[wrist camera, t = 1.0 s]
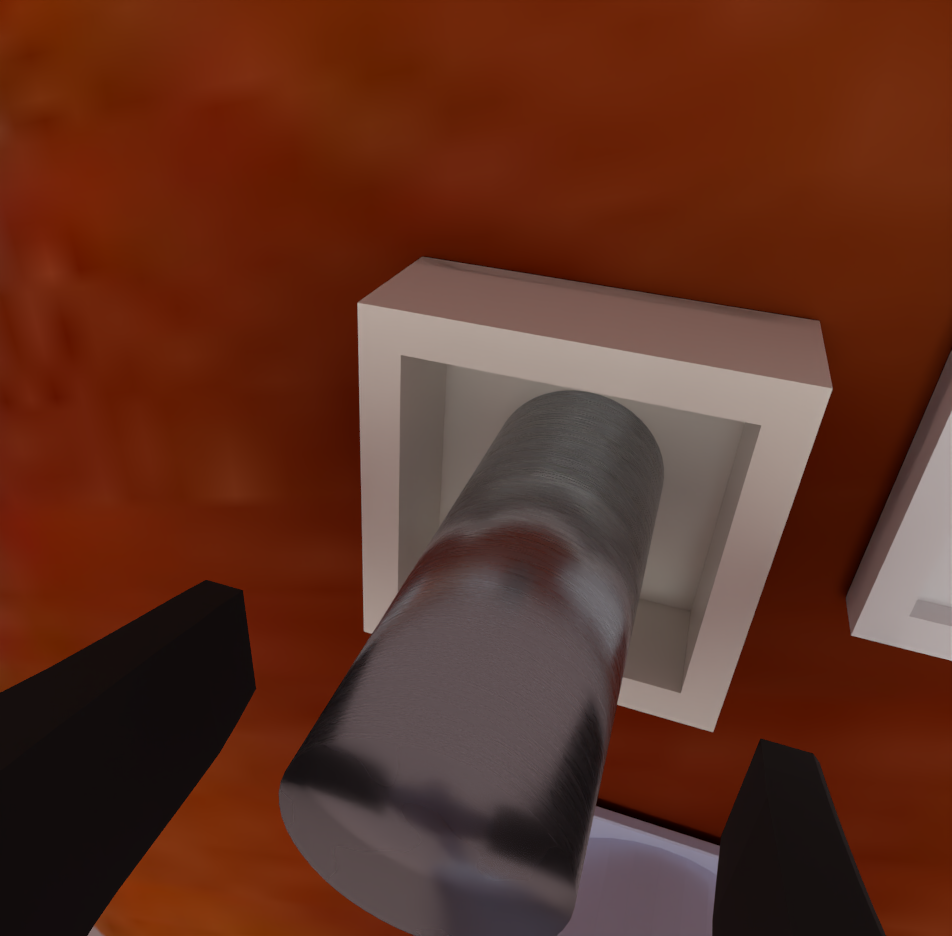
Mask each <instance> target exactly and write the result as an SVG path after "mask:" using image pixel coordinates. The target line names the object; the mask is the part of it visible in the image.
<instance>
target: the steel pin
mask: <svg viewBox="0 0 952 936" xmlns="http://www.w3.org/2000/svg"><path fill="white" fill-rule="evenodd" d="M663 481H664V465H663V459H662V455H661V452H660V449H659V446H658V444H657V442H656V440H655V438H654V436H653V435H652V433H651V432H650V430H649V429H648V427H647V426H646V425H645V424H644V423H643V422H642V420H641V419H640V418H638V417H637V416H636V415H635V414H634V413H633V412H632V411H630V410H629V409H627V408H626V407H624V406H623V405H621V404H619V403H618V402H616V401H614V400H612V399H609V398H607V397H604V396H602V395H598V394H594V393H591V392H585V391H576V390H565V391H556V392H551V393H547V394H543V395H540V396H538V397H535V398H533V399H531V400H529V401H528V402H526V403H524V404H523V405H522V406H520V407H519V408H518V409H516V410H515V411H514V413H513V414H512V415H511V416H510V417H509V418H508V419H507V421H506V422H505V424H504V425H503V427H502V428H501V430H500V432H499V433H498V435H497V436H496V438H495V439H494V441H493V443H492V444H491V446H490V447H489V449H488V451H487V452H486V454H485V455H484V457H483V459H482V460H481V462H480V463H479V465H478V466H477V468H476V470H475V471H474V473H473V474H472V476H471V478H470V479H469V481H468V482H467V484H466V485H465V487H464V489H463V490H462V492H461V493H460V495H459V497H458V498H457V500H456V501H455V503H454V505H453V506H452V508H451V509H450V511H449V512H448V514H447V516H446V517H445V519H444V520H443V522H442V524H441V525H440V527H439V528H438V530H437V532H436V533H435V535H434V536H433V538H432V539H431V541H430V543H429V544H428V546H427V547H426V549H425V551H424V552H423V554H422V555H421V557H420V558H419V560H418V562H417V563H416V565H415V566H414V568H413V570H412V571H411V573H410V574H409V576H408V578H407V579H406V581H405V582H404V584H403V585H402V587H401V589H400V590H399V592H398V593H397V595H396V597H395V598H394V600H393V601H392V603H391V604H390V606H389V608H388V609H387V611H386V612H385V614H384V616H383V617H382V619H381V620H380V622H379V624H378V625H377V627H376V628H375V630H374V631H373V633H372V635H371V636H370V638H369V639H368V641H367V643H366V644H365V646H364V647H363V649H362V651H361V652H360V654H359V655H358V657H357V658H356V660H355V662H354V663H353V665H352V666H351V668H350V670H349V671H348V673H347V674H346V676H345V677H344V679H343V681H342V682H341V684H340V685H339V687H338V689H337V690H336V692H335V693H334V695H333V697H332V698H331V700H330V701H329V703H328V704H327V706H326V708H325V709H324V711H323V712H322V714H321V716H320V717H319V719H318V720H317V722H316V723H315V725H314V727H313V728H312V730H311V731H310V733H309V735H308V736H307V738H306V739H305V741H304V743H303V744H302V746H301V747H300V749H299V750H298V752H297V754H296V755H295V757H294V758H293V760H292V762H291V763H290V765H289V766H288V768H287V770H286V771H285V773H284V776H283V778H282V780H281V784H280V789H279V805H280V810H281V815H282V818H283V821H284V824H285V826H286V829H287V831H288V833H289V835H290V837H291V838H292V840H293V842H294V844H295V845H296V847H297V848H298V850H299V851H300V852H301V854H302V855H303V856H304V858H305V859H306V860H307V861H308V862H309V864H310V865H311V866H312V867H313V868H314V869H315V870H316V871H317V872H318V873H319V874H320V875H321V876H322V878H323V879H325V880H326V881H327V882H328V883H329V884H330V885H331V886H333V887H334V888H335V889H336V890H337V891H338V892H340V893H341V894H342V895H344V896H345V897H346V898H348V899H349V900H350V901H352V902H353V903H355V904H356V905H358V906H359V907H361V908H362V909H364V910H365V911H367V912H368V913H370V914H372V915H374V916H375V917H377V918H379V919H380V920H382V921H384V922H386V923H388V924H390V925H392V926H394V927H396V928H398V929H401V930H403V931H405V932H408V933H410V934H412V935H415V936H557V935H558V934H559V933H560V932H561V931H562V930H563V929H564V928H565V927H566V925H567V924H568V922H569V921H570V919H571V916H572V914H573V911H574V908H575V903H576V898H577V893H578V888H579V884H580V879H581V874H582V869H583V865H584V860H585V855H586V850H587V846H588V841H589V836H590V831H591V826H592V822H593V817H594V812H595V807H596V803H597V798H598V793H599V788H600V783H601V779H602V774H603V769H604V764H605V760H606V755H607V750H608V745H609V741H610V736H611V731H612V726H613V721H614V717H615V712H616V707H617V702H618V698H619V693H620V688H621V683H622V679H623V674H624V669H625V664H626V659H627V655H628V650H629V645H630V640H631V636H632V631H633V626H634V621H635V617H636V612H637V607H638V602H639V597H640V593H641V588H642V583H643V578H644V574H645V569H646V564H647V559H648V555H649V550H650V545H651V540H652V535H653V531H654V526H655V521H656V516H657V512H658V507H659V502H660V497H661V493H662V488H663Z"/></svg>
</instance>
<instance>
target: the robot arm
mask: <svg viewBox="0 0 952 936" xmlns="http://www.w3.org/2000/svg"><path fill="white" fill-rule="evenodd" d="M255 689H256V686H255V678H254V671H253V663H252V656H251V648H250V641H249V634H248V626H247V619H246V611H245V604H244V596H243V590H240V589H236V588H233V587H229V586H226V585H222V584H219V583H215V582H212V581H208V580H205V581H203V582H201V583H200V584H198V585H196V586H194V587H192V588H190V589H188V590H187V591H185V592H183V593H181V594H179V595H178V596H176V597H174V598H172V599H170V600H169V601H167V602H165V603H163V604H162V605H160V606H158V607H156V608H155V609H153V610H151V611H149V612H148V613H146V614H144V615H142V616H141V617H139V618H137V619H135V620H134V621H132V622H130V623H128V624H127V625H125V626H123V627H121V628H120V629H118V630H116V631H114V632H113V633H111V634H109V635H107V636H106V637H104V638H102V639H100V640H98V641H97V642H95V643H93V644H91V645H89V646H88V647H86V648H84V649H82V650H80V651H79V652H77V653H75V654H73V655H71V656H70V657H68V658H66V659H64V660H62V661H61V662H59V663H57V664H55V665H53V666H52V667H50V668H48V669H46V670H44V671H42V672H40V673H38V674H36V675H34V676H32V677H30V678H28V679H26V680H24V681H22V682H20V683H18V684H17V685H15V686H13V687H11V688H9V689H7V690H5V691H3V692H1V693H0V936H87V935H88V934H89V932H90V931H91V929H92V927H93V926H94V924H95V923H96V921H97V920H98V918H99V917H100V916H101V914H102V913H103V911H104V910H105V908H106V907H107V905H108V904H109V903H110V901H111V900H112V898H113V897H114V895H115V894H116V892H117V891H118V890H119V888H120V887H121V886H122V884H123V883H124V882H125V880H126V879H127V878H128V876H129V875H130V874H131V872H132V871H133V869H134V868H135V867H136V865H137V864H138V863H139V861H140V860H141V859H142V857H143V856H144V855H145V853H146V852H147V851H148V849H149V848H150V847H151V845H152V844H153V843H154V841H155V840H156V839H157V837H158V836H159V835H160V833H161V832H162V831H163V829H164V828H165V826H166V825H167V824H168V822H169V821H170V820H171V818H172V817H173V816H174V814H175V813H176V812H177V810H178V809H179V808H180V806H181V805H182V804H183V802H184V801H185V800H186V798H187V797H188V796H189V794H190V793H191V791H192V790H193V789H194V787H195V786H196V785H197V783H198V782H199V780H200V779H201V778H202V776H203V775H204V774H205V772H206V771H207V770H208V768H209V767H210V765H211V764H212V763H213V761H214V760H215V758H216V757H217V756H218V754H219V753H220V751H221V750H222V748H223V746H224V744H225V743H226V741H227V739H228V738H229V736H230V734H231V733H232V731H233V729H234V727H235V726H236V724H237V722H238V720H239V719H240V717H241V715H242V713H243V711H244V710H245V708H246V706H247V704H248V702H249V700H250V699H251V697H252V695H253V693H254V691H255ZM557 936H886V935H885V933H884V930H883V928H882V926H881V924H880V921H879V919H878V917H877V914H876V912H875V910H874V908H873V905H872V903H871V900H870V898H869V895H868V893H867V891H866V888H865V886H864V883H863V881H862V878H861V876H860V873H859V871H858V868H857V866H856V863H855V861H854V858H853V855H852V853H851V850H850V848H849V845H848V843H847V840H846V837H845V835H844V832H843V829H842V827H841V824H840V821H839V818H838V816H837V813H836V810H835V807H834V804H833V802H832V799H831V796H830V793H829V790H828V787H827V784H826V781H825V778H824V775H823V772H822V769H821V766H820V763H819V761H818V760H817V758H816V757H815V756H814V754H813V753H809V752H806V751H802V750H799V749H795V748H792V747H788V746H785V745H781V744H778V743H774V742H771V741H767V740H764V739H760V741H759V744H758V746H757V749H756V751H755V754H754V756H753V759H752V761H751V764H750V766H749V769H748V771H747V773H746V776H745V778H744V781H743V783H742V786H741V788H740V791H739V793H738V796H737V798H736V801H735V803H734V806H733V808H732V811H731V813H730V816H729V818H728V821H727V823H726V826H725V828H724V831H723V833H722V835H721V841H720V846H719V845H716V844H713V843H710V842H707V841H703V840H700V839H697V838H694V837H691V836H688V835H685V834H682V833H679V832H676V831H672V830H669V829H666V828H663V827H660V826H657V825H654V824H651V823H648V822H645V821H641V820H638V819H635V818H632V817H629V816H626V815H623V814H620V813H617V812H614V811H610V810H607V809H604V808H601V807H598V806H596V807H595V812H594V817H593V822H592V826H591V831H590V836H589V841H588V846H587V850H586V855H585V860H584V865H583V869H582V874H581V879H580V884H579V888H578V893H577V898H576V903H575V908H574V911H573V914H572V916H571V919H570V921H569V922H568V924H567V925H566V927H565V928H564V929H563V930H562V931H561V932H560V933H559V934H558V935H557Z"/></svg>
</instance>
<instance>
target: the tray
mask: <svg viewBox="0 0 952 936" xmlns="http://www.w3.org/2000/svg"><path fill="white" fill-rule="evenodd" d="M846 604H847V611H848V618H849V625H850V631H851V636H855V637H859V638H863V639H867V640H871V641H875V642H879V643H883V644H887V645H891V646H895V647H899V648H903V649H907V650H911V651H915V652H919V653H923V654H927V655H931V656H935V657H939V658H943V659H947V660H951V661H952V350H951V352H950V355H949V357H948V359H947V362H946V364H945V366H944V369H943V371H942V373H941V376H940V378H939V380H938V383H937V385H936V387H935V390H934V392H933V394H932V397H931V399H930V401H929V404H928V406H927V408H926V411H925V413H924V415H923V418H922V420H921V422H920V425H919V427H918V429H917V432H916V434H915V437H914V439H913V441H912V444H911V446H910V448H909V451H908V453H907V455H906V458H905V460H904V462H903V465H902V467H901V469H900V472H899V474H898V476H897V479H896V481H895V483H894V486H893V488H892V490H891V493H890V495H889V497H888V500H887V502H886V504H885V507H884V509H883V511H882V514H881V516H880V518H879V521H878V523H877V525H876V528H875V530H874V532H873V535H872V537H871V539H870V542H869V544H868V547H867V549H866V551H865V554H864V556H863V558H862V561H861V563H860V565H859V568H858V570H857V572H856V575H855V577H854V579H853V582H852V584H851V586H850V589H849V591H848V593H847V596H846Z"/></svg>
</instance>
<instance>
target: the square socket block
mask: <svg viewBox="0 0 952 936" xmlns="http://www.w3.org/2000/svg"><path fill="white" fill-rule="evenodd" d="M357 305H358V355H359V406H360V457H361V508H362V559H363V610H364V632H368V633H371V634H372V633H373V631H374V630H375V628H376V627H377V625H378V624H379V622H380V620H381V619H382V617H383V616H384V614H385V612H386V611H387V609H388V608H389V606H390V604H391V603H392V601H393V600H394V598H395V597H396V595H397V593H398V592H399V590H400V589H401V587H402V585H403V584H404V582H405V581H406V579H407V578H408V576H409V574H410V573H411V571H412V570H413V568H414V566H415V565H416V563H417V562H418V560H419V558H420V557H421V555H422V554H423V552H424V551H425V549H426V547H427V546H428V544H429V543H430V541H431V539H432V538H433V536H434V535H435V533H436V532H437V530H438V528H439V527H440V525H441V524H442V522H443V520H444V519H445V517H446V516H447V514H448V512H449V511H450V509H451V508H452V506H453V505H454V503H455V501H456V500H457V498H458V497H459V495H460V493H461V492H462V490H463V489H464V487H465V485H466V484H467V482H468V481H469V479H470V478H471V476H472V474H473V473H474V471H475V470H476V468H477V466H478V465H479V463H480V462H481V460H482V459H483V457H484V455H485V454H486V452H487V451H488V449H489V447H490V446H491V444H492V443H493V441H494V439H495V438H496V436H497V435H498V433H499V432H500V430H501V428H502V427H503V425H504V424H505V422H506V421H507V419H508V418H509V417H510V416H511V415H512V414H513V413H514V411H515V410H516V409H518V408H519V407H520V406H522V405H523V404H524V403H526V402H528V401H529V400H531V399H533V398H535V397H538V396H540V395H543V394H547V393H551V392H556V391H565V390H576V391H585V392H591V393H594V394H598V395H602V396H604V397H607V398H609V399H612V400H614V401H616V402H618V403H619V404H621V405H623V406H624V407H626V408H627V409H629V410H630V411H632V412H633V413H634V414H635V415H636V416H637V417H638V418H640V419H641V420H642V422H643V423H644V424H645V425H646V426H647V427H648V429H649V430H650V432H651V433H652V435H653V436H654V438H655V440H656V442H657V444H658V446H659V449H660V452H661V455H662V459H663V465H664V481H663V488H662V493H661V497H660V502H659V507H658V512H657V516H656V521H655V526H654V531H653V535H652V540H651V545H650V550H649V555H648V559H647V564H646V569H645V574H644V578H643V583H642V588H641V593H640V597H639V602H638V607H637V612H636V617H635V621H634V626H633V631H632V636H631V640H630V645H629V650H628V655H627V659H626V664H625V669H624V674H623V679H622V683H621V688H620V693H619V698H618V702H617V705H620V706H624V707H627V708H631V709H634V710H637V711H641V712H644V713H648V714H651V715H655V716H658V717H662V718H665V719H669V720H672V721H675V722H679V723H682V724H686V725H689V726H693V727H696V728H700V729H703V730H707V731H710V732H713V731H714V728H715V725H716V722H717V719H718V717H719V714H720V711H721V708H722V705H723V702H724V699H725V696H726V694H727V691H728V688H729V685H730V682H731V679H732V676H733V673H734V671H735V668H736V665H737V662H738V659H739V656H740V653H741V650H742V648H743V645H744V642H745V639H746V636H747V633H748V630H749V627H750V625H751V622H752V619H753V616H754V613H755V610H756V607H757V604H758V602H759V599H760V596H761V593H762V590H763V587H764V584H765V581H766V579H767V576H768V573H769V570H770V567H771V564H772V561H773V558H774V556H775V553H776V550H777V547H778V544H779V541H780V538H781V535H782V533H783V530H784V527H785V524H786V521H787V518H788V515H789V512H790V510H791V507H792V504H793V501H794V498H795V495H796V492H797V489H798V487H799V484H800V481H801V478H802V475H803V472H804V469H805V466H806V464H807V461H808V458H809V455H810V452H811V449H812V446H813V443H814V441H815V438H816V435H817V432H818V429H819V426H820V423H821V420H822V418H823V415H824V412H825V409H826V406H827V403H828V400H829V397H830V395H831V392H832V389H833V388H832V383H831V378H830V372H829V367H828V362H827V357H826V351H825V346H824V341H823V336H822V331H821V325H820V321H817V320H811V319H805V318H798V317H792V316H786V315H780V314H774V313H768V312H761V311H755V310H749V309H743V308H737V307H731V306H724V305H718V304H712V303H706V302H700V301H694V300H687V299H681V298H675V297H669V296H663V295H657V294H650V293H644V292H638V291H632V290H626V289H620V288H613V287H607V286H601V285H595V284H589V283H583V282H576V281H570V280H564V279H558V278H552V277H546V276H539V275H533V274H527V273H521V272H515V271H509V270H503V269H496V268H490V267H484V266H478V265H472V264H466V263H459V262H453V261H447V260H441V259H435V258H429V257H421V258H420V259H418V260H417V261H415V262H414V263H413V264H411V265H410V266H408V267H407V268H405V269H404V270H403V271H401V272H400V273H398V274H397V275H396V276H394V277H393V278H391V279H390V280H389V281H387V282H386V283H384V284H383V285H382V286H380V287H379V288H377V289H376V290H374V291H373V292H372V293H370V294H369V295H367V296H366V297H365V298H363V299H362V300H360V301H359V302H358V303H357Z"/></svg>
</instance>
